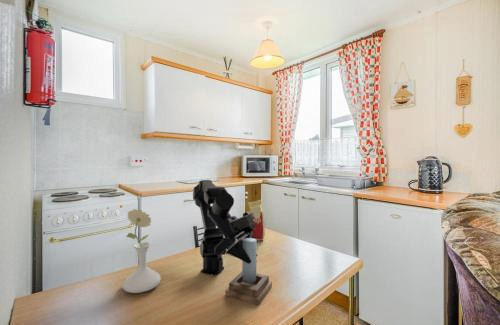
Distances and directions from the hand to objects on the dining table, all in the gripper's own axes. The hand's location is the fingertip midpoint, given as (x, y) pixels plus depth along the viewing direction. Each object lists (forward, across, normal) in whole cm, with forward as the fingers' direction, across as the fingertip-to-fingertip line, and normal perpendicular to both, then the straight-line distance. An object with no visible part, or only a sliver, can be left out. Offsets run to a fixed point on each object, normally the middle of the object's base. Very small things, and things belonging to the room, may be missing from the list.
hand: (253, 259), depth 74 cm
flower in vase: (-17, -13, +32) cm, 38 cm away
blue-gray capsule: (+4, 0, +6) cm, 7 cm away
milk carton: (-6, +46, +21) cm, 51 cm away
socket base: (+6, 0, +8) cm, 10 cm away
